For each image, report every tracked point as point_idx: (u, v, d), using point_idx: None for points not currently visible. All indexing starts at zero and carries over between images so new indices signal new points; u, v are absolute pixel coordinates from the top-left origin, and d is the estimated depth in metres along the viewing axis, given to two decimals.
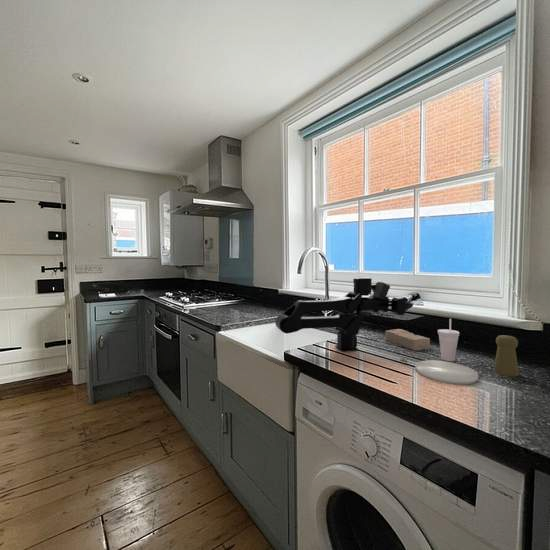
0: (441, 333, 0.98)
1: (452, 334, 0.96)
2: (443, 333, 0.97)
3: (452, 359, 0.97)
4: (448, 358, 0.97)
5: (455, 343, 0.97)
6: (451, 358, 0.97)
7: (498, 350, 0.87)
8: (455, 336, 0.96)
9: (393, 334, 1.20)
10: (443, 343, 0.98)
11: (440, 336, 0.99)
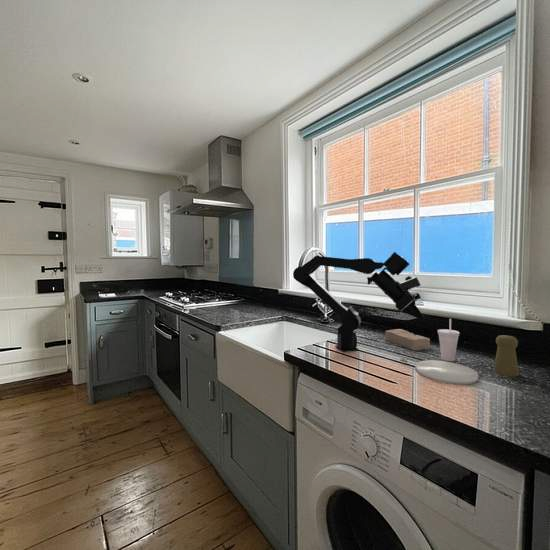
0: (441, 333, 0.98)
1: (452, 334, 0.96)
2: (443, 333, 0.97)
3: (452, 359, 0.97)
4: (448, 358, 0.97)
5: (455, 343, 0.97)
6: (451, 358, 0.97)
7: (498, 350, 0.87)
8: (455, 336, 0.96)
9: (393, 334, 1.20)
10: (443, 343, 0.98)
11: (440, 336, 0.99)
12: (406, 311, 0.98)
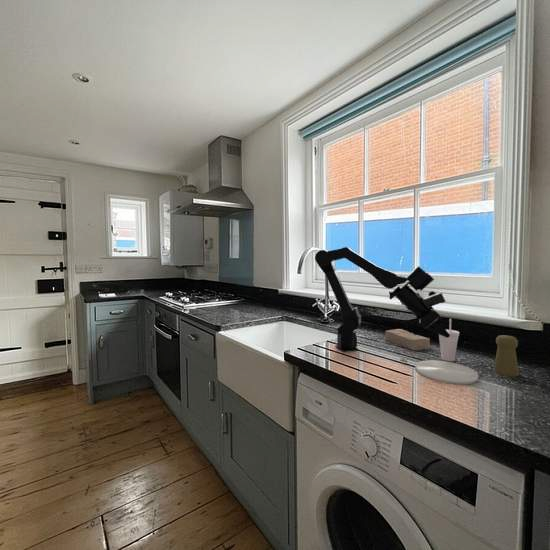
0: None
1: (452, 334, 0.96)
2: None
3: (452, 359, 0.97)
4: (448, 358, 0.97)
5: (455, 343, 0.97)
6: (451, 358, 0.97)
7: (498, 350, 0.87)
8: (455, 336, 0.96)
9: (393, 334, 1.20)
10: (443, 343, 0.98)
11: (440, 336, 0.99)
12: (431, 328, 0.95)
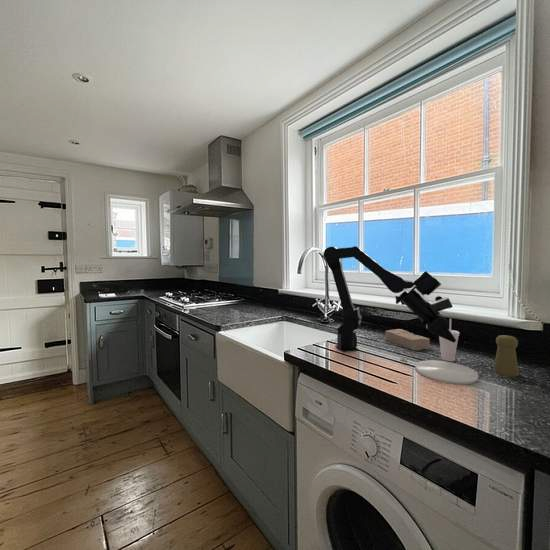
0: None
1: (452, 334, 0.96)
2: None
3: (452, 359, 0.97)
4: (448, 358, 0.97)
5: (455, 343, 0.97)
6: (451, 358, 0.97)
7: (498, 350, 0.87)
8: (455, 336, 0.96)
9: (393, 334, 1.20)
10: (443, 343, 0.98)
11: None
12: (437, 333, 0.95)
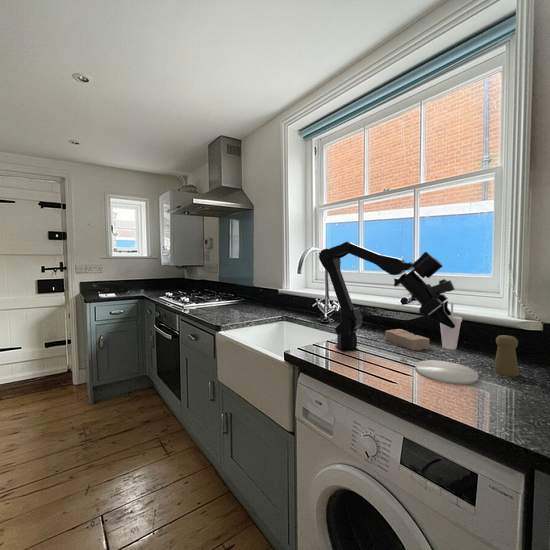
0: None
1: None
2: None
3: (452, 347, 0.90)
4: (448, 346, 0.90)
5: (456, 330, 0.89)
6: (451, 346, 0.90)
7: (498, 350, 0.87)
8: (455, 322, 0.88)
9: (393, 334, 1.20)
10: (442, 329, 0.91)
11: None
12: (433, 317, 0.89)
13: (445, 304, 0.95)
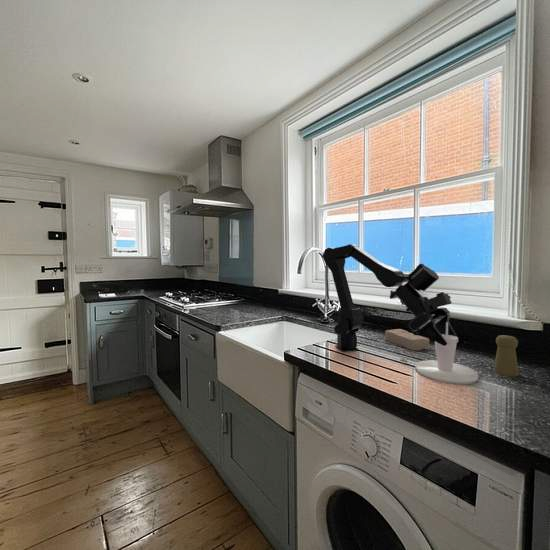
0: None
1: None
2: None
3: (447, 369, 0.85)
4: (442, 367, 0.86)
5: (449, 350, 0.84)
6: (445, 367, 0.85)
7: (498, 350, 0.87)
8: (448, 342, 0.84)
9: (392, 334, 1.20)
10: (436, 349, 0.87)
11: None
12: (423, 333, 0.85)
13: (445, 318, 0.91)
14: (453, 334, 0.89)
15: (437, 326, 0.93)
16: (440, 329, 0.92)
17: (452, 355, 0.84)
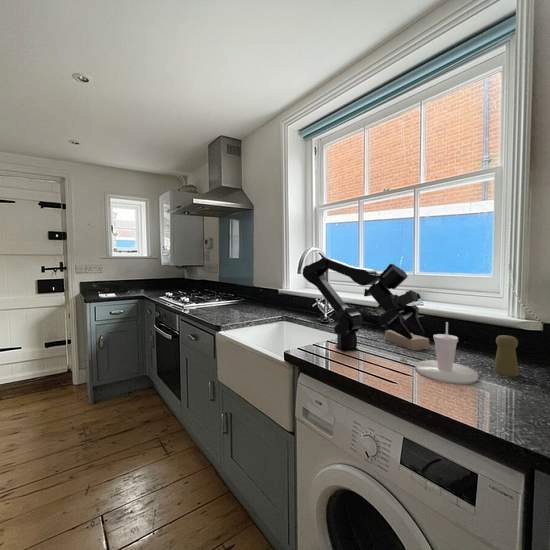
0: (434, 338, 0.87)
1: (444, 340, 0.84)
2: (435, 338, 0.86)
3: (447, 369, 0.85)
4: (442, 367, 0.86)
5: (449, 351, 0.84)
6: (445, 367, 0.85)
7: (498, 350, 0.87)
8: (448, 342, 0.84)
9: (392, 334, 1.20)
10: (436, 349, 0.87)
11: None
12: (391, 328, 0.92)
13: (414, 314, 0.98)
14: (420, 329, 0.96)
15: (407, 322, 0.99)
16: (410, 324, 0.99)
17: (452, 355, 0.84)
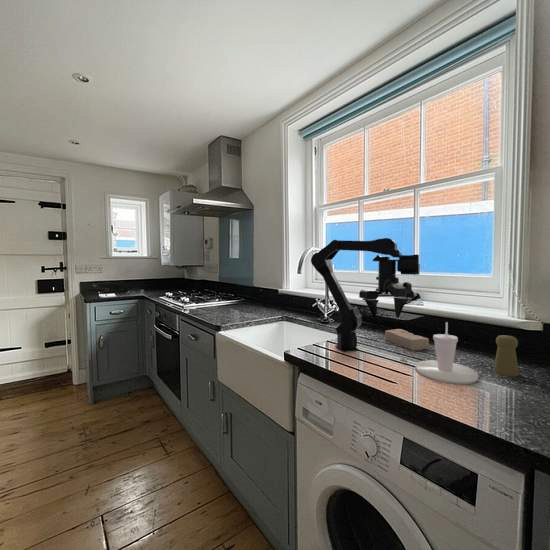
0: (434, 338, 0.87)
1: (444, 340, 0.84)
2: (435, 338, 0.86)
3: (447, 369, 0.85)
4: (442, 367, 0.86)
5: (449, 350, 0.84)
6: (445, 367, 0.85)
7: (498, 350, 0.87)
8: (448, 342, 0.84)
9: (392, 334, 1.20)
10: (436, 349, 0.87)
11: None
12: (367, 302, 1.04)
13: (402, 300, 1.03)
14: (398, 313, 1.05)
15: (395, 300, 1.07)
16: (396, 303, 1.06)
17: (452, 355, 0.84)
